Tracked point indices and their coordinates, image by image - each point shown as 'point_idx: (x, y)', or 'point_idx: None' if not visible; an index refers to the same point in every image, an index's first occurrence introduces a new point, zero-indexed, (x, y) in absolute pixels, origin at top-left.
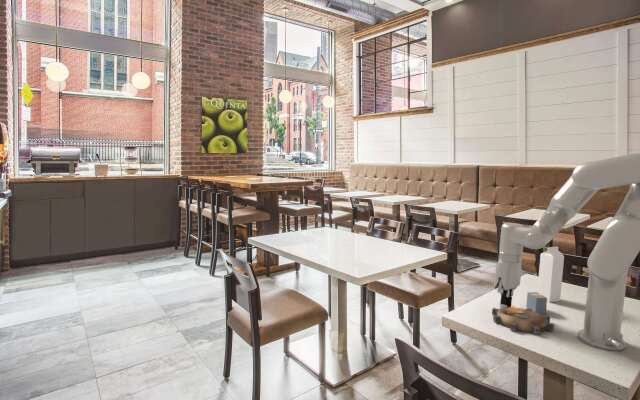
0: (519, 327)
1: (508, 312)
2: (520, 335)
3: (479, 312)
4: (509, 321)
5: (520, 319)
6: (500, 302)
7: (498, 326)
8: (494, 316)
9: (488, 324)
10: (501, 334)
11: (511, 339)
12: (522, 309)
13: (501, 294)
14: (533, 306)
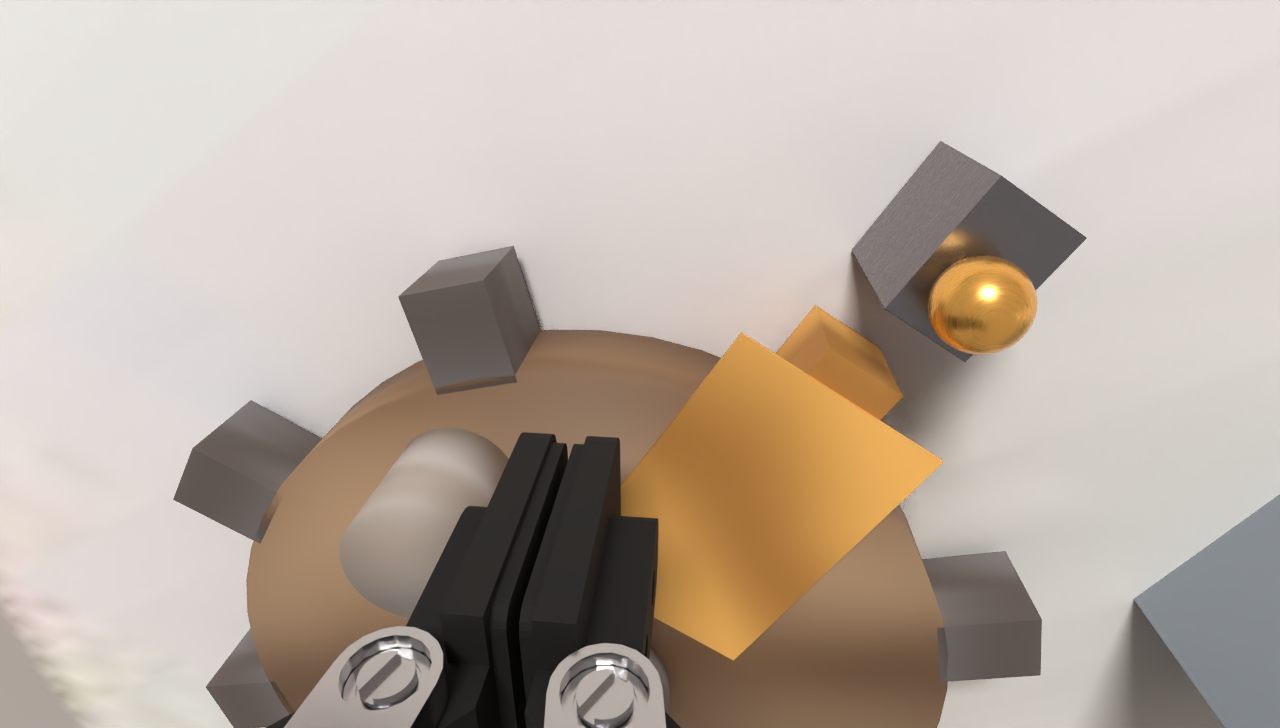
0: None
1: None
2: None
3: (329, 41)
4: (260, 654)
5: None
6: (975, 166)
7: None
8: (184, 471)
9: (128, 402)
10: (96, 601)
11: (120, 688)
12: (885, 600)
13: (349, 676)
14: (1249, 630)
